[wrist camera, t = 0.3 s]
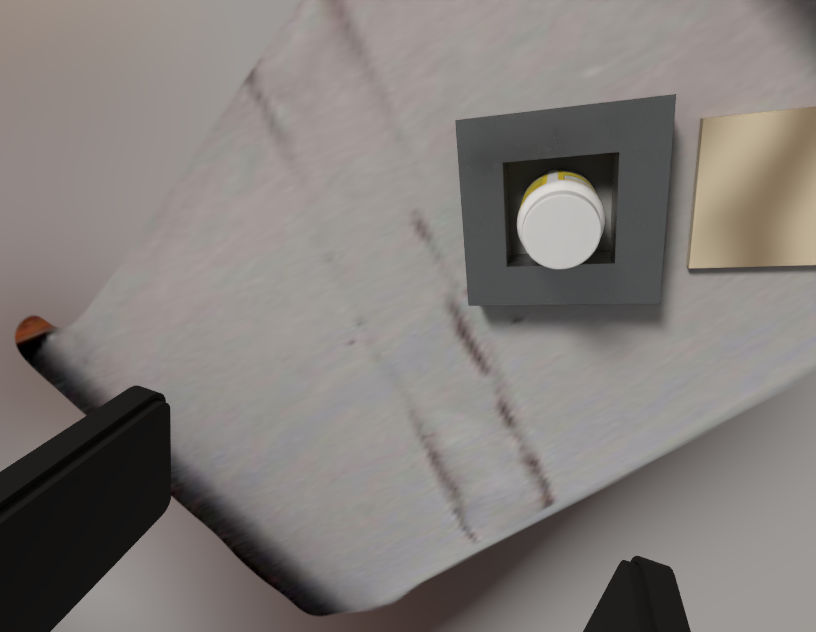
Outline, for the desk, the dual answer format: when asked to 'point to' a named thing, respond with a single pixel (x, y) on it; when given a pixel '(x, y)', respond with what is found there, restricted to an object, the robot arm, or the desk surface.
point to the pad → (755, 191)
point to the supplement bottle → (560, 219)
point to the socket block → (631, 201)
